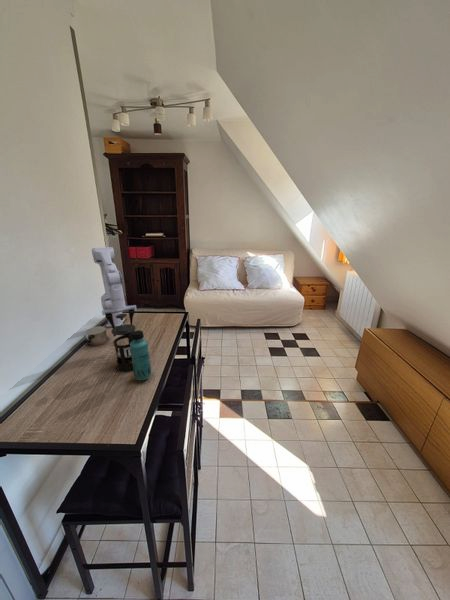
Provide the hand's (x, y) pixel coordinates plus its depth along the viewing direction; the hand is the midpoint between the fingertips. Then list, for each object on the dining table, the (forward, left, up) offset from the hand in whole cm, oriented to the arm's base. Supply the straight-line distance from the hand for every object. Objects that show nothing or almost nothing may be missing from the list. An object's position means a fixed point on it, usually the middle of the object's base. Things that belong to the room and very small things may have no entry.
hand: (122, 327), depth 116 cm
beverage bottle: (+25, +14, -11) cm, 31 cm away
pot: (-7, -16, -10) cm, 20 cm away
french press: (+15, +6, -11) cm, 20 cm away
